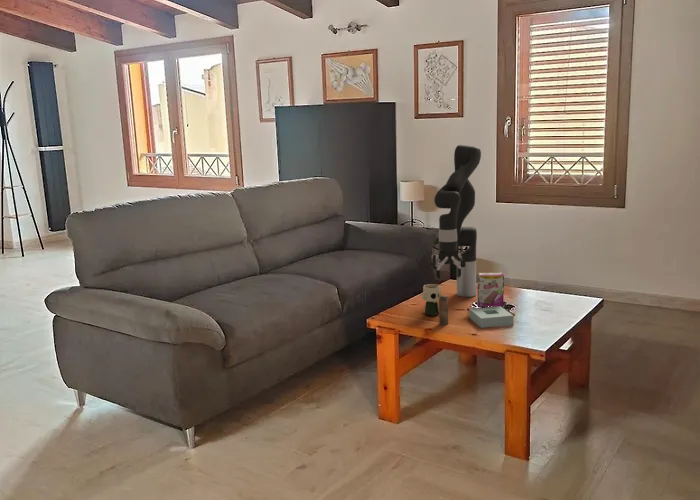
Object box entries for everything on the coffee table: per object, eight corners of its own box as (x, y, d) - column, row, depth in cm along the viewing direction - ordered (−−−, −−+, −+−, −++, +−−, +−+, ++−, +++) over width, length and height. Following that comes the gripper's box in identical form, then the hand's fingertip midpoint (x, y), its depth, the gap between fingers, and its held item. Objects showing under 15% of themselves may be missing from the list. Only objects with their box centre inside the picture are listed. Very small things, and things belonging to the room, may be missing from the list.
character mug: (428, 319, 281) (428, 289, 278) (417, 315, 287) (416, 286, 284) (446, 313, 287) (446, 285, 285) (435, 310, 293) (434, 282, 290)
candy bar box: (478, 311, 289) (478, 275, 286) (477, 308, 294) (477, 272, 291) (503, 311, 288) (504, 274, 285) (502, 307, 293) (502, 272, 290)
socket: (469, 317, 280) (469, 308, 280) (500, 315, 283) (500, 306, 282) (481, 327, 267) (481, 318, 266) (513, 324, 269) (513, 315, 268)
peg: (438, 323, 275) (437, 295, 273) (446, 322, 276) (446, 294, 273) (440, 325, 272) (440, 297, 269) (449, 324, 272) (448, 297, 270)
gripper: (461, 237, 274) (461, 275, 277) (428, 239, 272) (429, 277, 275) (467, 240, 267) (467, 278, 270) (434, 242, 264) (434, 281, 267)
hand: (448, 278), depth 272 cm, fingers open, 8 cm apart
